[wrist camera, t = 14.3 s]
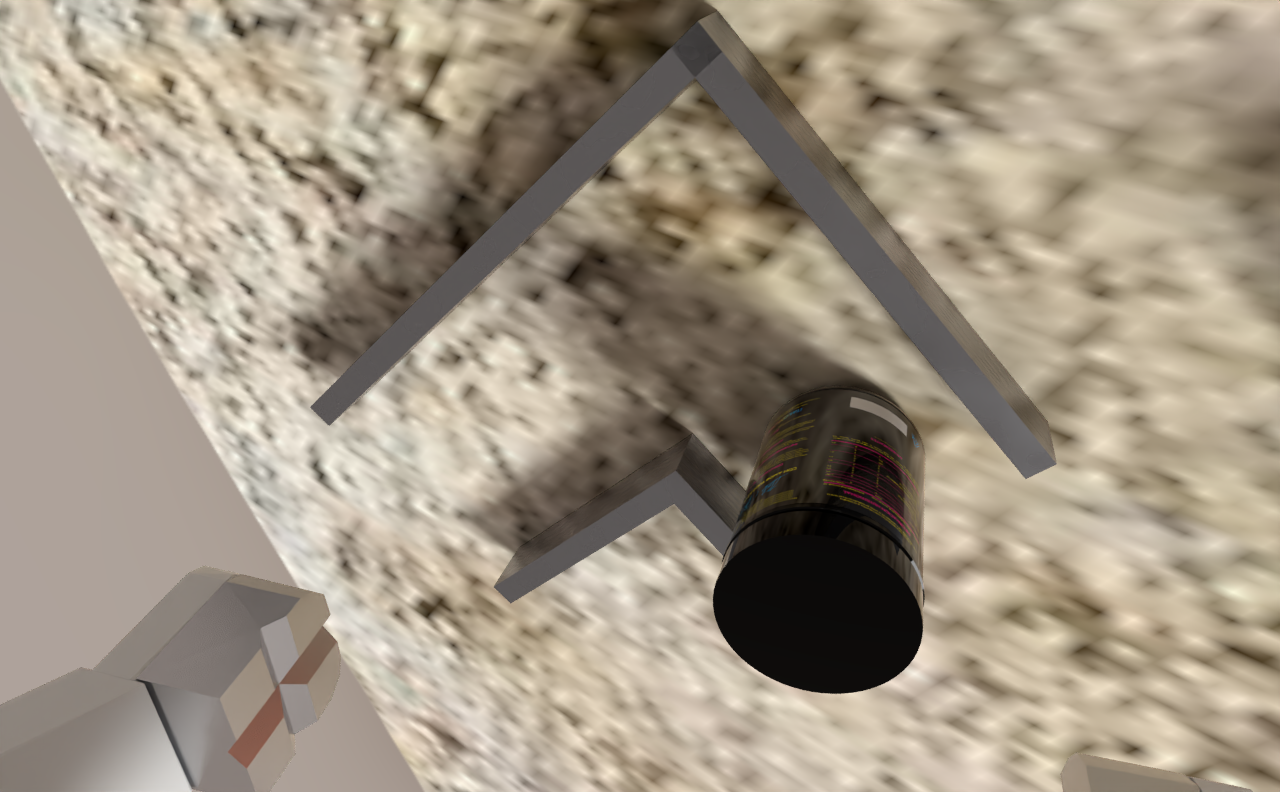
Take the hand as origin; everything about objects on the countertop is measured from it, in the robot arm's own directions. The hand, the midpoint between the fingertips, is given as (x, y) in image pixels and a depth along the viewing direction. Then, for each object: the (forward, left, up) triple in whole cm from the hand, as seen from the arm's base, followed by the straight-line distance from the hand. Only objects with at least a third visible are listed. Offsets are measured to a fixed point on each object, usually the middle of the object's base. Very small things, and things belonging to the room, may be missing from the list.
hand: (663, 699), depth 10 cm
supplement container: (+10, -8, -26) cm, 29 cm away
